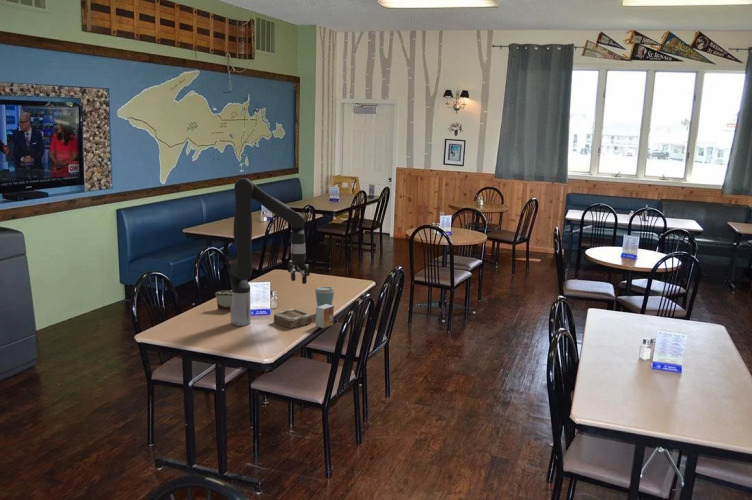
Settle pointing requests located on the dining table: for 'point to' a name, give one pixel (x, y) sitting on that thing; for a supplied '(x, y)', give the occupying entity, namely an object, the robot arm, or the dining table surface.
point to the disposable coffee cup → (324, 295)
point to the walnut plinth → (292, 318)
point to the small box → (324, 316)
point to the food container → (224, 300)
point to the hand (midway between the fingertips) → (298, 282)
